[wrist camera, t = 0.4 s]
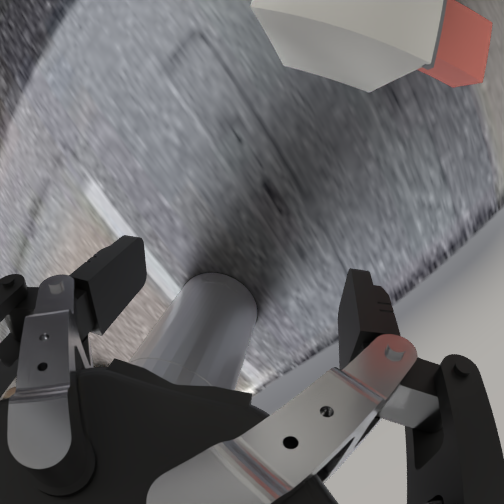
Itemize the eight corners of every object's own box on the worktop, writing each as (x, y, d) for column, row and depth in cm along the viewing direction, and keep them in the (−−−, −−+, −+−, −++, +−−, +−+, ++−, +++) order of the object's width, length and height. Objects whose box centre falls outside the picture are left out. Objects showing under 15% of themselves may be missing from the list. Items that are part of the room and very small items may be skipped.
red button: (452, 87, 18) (482, 82, 14) (383, 55, 18) (400, 39, 14) (463, 36, 16) (492, 22, 11) (396, 3, 16) (413, -20, 12)
